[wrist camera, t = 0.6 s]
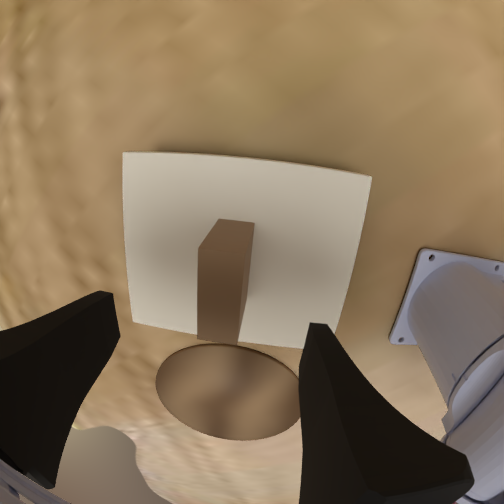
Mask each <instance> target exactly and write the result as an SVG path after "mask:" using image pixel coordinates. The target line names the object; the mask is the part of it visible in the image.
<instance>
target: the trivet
mask: <svg viewBox="0 0 504 504" xmlns="http://www.w3.org/2000/svg"><path fill="white" fill-rule="evenodd" d="M298 384H299V379H298V378H297V376H296V375H295V374H294V373H293V372H292V371H291V370H290V369H289V368H287V367H286V366H285V365H284V364H282V363H281V362H279V361H278V360H276V359H274V358H272V357H270V356H268V355H266V354H263V353H261V352H258V351H255V350H252V349H248V348H245V347H240V346H234V345H226V344H204V345H197V346H192V347H188V348H185V349H182V350H180V351H178V352H176V353H174V354H172V355H171V356H169V357H168V358H167V359H166V360H165V361H164V362H163V363H162V365H161V367H160V368H159V370H158V373H157V376H156V390H157V393H158V396H159V398H160V400H161V402H162V403H163V405H164V406H165V407H166V409H167V410H168V411H169V412H170V413H171V414H172V415H173V416H174V417H175V418H177V419H178V420H179V421H181V422H182V423H184V424H185V425H187V426H189V427H191V428H192V429H194V430H197V431H199V432H201V433H204V434H207V435H210V436H213V437H217V438H222V439H228V440H241V441H245V440H258V439H264V438H268V437H271V436H275V435H277V434H280V433H282V432H284V431H285V430H287V429H289V428H290V427H291V426H293V425H294V424H295V423H296V422H297V421H298V419H299V418H300V405H299V392H298Z"/></svg>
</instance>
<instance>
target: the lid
mask: <svg viewBox="0 0 504 504" xmlns="http://www.w3.org/2000/svg"><path fill="white" fill-rule="evenodd" d="M371 181H372V177H371V176H369V175H367V174H362V173H356V172H351V171H345V170H339V169H333V168H327V167H321V166H314V165H307V164H300V163H293V162H285V161H277V160H269V159H260V158H250V157H240V156H228V155H216V154H201V153H183V152H157V151H128V152H123V220H124V239H125V254H126V266H127V276H128V286H129V295H130V303H131V311H132V318H133V322H136V323H141V324H145V325H150V326H155V327H160V328H165V329H170V330H175V331H180V332H186V333H191V334H197V339H200V340H206V341H212V342H218V343H225V344H231V345H237V342H238V341H241V342H249V343H256V344H264V345H273V346H281V347H291V348H301V349H303V348H304V344H305V340H306V336H307V332H308V328H309V323H310V322H312V323H322V324H328V326H329V327H330V329H331V330H332V332H333V333H334V334H335V331H336V328H337V325H338V321H339V318H340V315H341V311H342V308H343V304H344V301H345V297H346V293H347V290H348V286H349V282H350V278H351V274H352V270H353V266H354V262H355V258H356V254H357V250H358V245H359V241H360V237H361V232H362V227H363V223H364V218H365V213H366V208H367V203H368V198H369V192H370V187H371Z"/></svg>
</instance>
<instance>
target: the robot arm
mask: <svg viewBox="0 0 504 504" xmlns="http://www.w3.org/2000/svg"><path fill="white" fill-rule="evenodd" d="M432 254H433V256H432V258H431V259H429V256H430V255H432ZM495 267H496V268H495ZM401 337H402V338H401ZM119 338H120V331H119V326H118V321H117V316H116V310H115V304H114V298H113V293H109V292H104V291H97V292H94V293H92V294H89V295H87V296H85V297H82V298H80V299H78V300H76V301H74V302H72V303H70V304H68V305H66V306H63V307H61V308H59V309H57V310H55V311H53V312H51V313H48V314H46V315H44V316H42V317H39V318H37V319H35V320H32V321H30V322H27V323H25V324H22V325H19V326H16V327H13V328H10V329H7V330H3V331H0V504H25V503H24V502H23V501H21V500H20V498H19V494H18V493H20V494H21V495H23V496H24V497H26V498H27V499H28V500H30V501H32V502H33V503H35V504H71V503H69V502H67V501H65V500H63V499H62V498H60V497H58V496H56V495H54V494H52V493H51V492H49V491H47V490H46V489H52V488H54V487H55V483H56V478H57V473H58V468H59V464H60V460H61V456H62V452H63V449H64V446H65V443H66V440H67V437H68V435H69V432H70V429H71V427H72V424H73V422H74V419H75V417H76V415H77V412H78V410H79V408H80V406H81V404H82V402H83V400H84V398H85V397H86V395H87V393H88V392H89V390H90V389H91V387H92V386H93V384H94V382H95V381H96V379H97V378H98V376H99V375H100V373H101V372H102V370H103V368H104V367H105V365H106V364H107V362H108V361H109V359H110V357H111V355H112V353H113V351H114V349H115V347H116V345H117V343H118V340H119ZM399 338H401V339H399ZM389 341H390V343H391V344H403V345H418V346H419V348H420V350H421V352H422V354H423V356H424V358H425V360H426V362H427V364H428V366H429V368H430V370H431V372H432V374H433V376H434V379H435V381H436V383H437V385H438V387H439V389H440V392H441V394H442V396H443V398H444V401H445V403H446V405H447V408H448V411H447V413H446V414H445V416H444V417H443V418H442V423H443V425H444V428H445V431H446V434H445V435H444V436H443V438H442V439H441V441H439V440H437V439H435V438H434V437H432V436H431V435H429V434H428V433H426V432H425V431H423V430H422V429H420V428H419V427H418V426H416V425H415V424H413V423H412V422H411V421H410V420H408V419H407V418H406V417H405V416H404V415H402V414H401V413H400V412H399V411H397V410H396V409H395V408H394V407H393V406H392V405H391V404H390V403H389V402H388V401H387V400H386V399H385V398H384V397H383V396H382V395H381V394H380V393H379V392H378V391H377V390H376V389H375V388H374V387H373V386H372V385H371V384H370V382H369V381H368V380H367V379H366V378H365V377H364V375H363V374H362V373H361V372H360V370H359V369H358V368H357V366H356V365H355V364H354V362H353V361H352V360H351V358H350V357H349V356H348V354H347V353H346V351H345V350H344V348H343V347H342V345H341V344H340V342H339V341H338V339H337V338H336V336H335V335H334V333H333V332H332V330H331V329H330V327H329V326H328V324H322V323H312V322H310V323H309V328H308V332H307V336H306V340H305V344H304V348H303V352H302V356H301V360H300V364H299V384H298V392H299V405H300V417H301V429H302V444H303V456H302V474H301V487H300V498H299V504H453V503H454V502H457V503H458V504H504V262H501V261H495V260H490V259H485V258H479V257H474V256H468V255H462V254H457V253H451V252H445V251H439V250H433V249H427V248H424V249H422V250H421V251H420V252H419V254H418V257H417V260H416V264H415V267H414V270H413V273H412V276H411V279H410V282H409V285H408V288H407V291H406V294H405V297H404V300H403V303H402V305H401V308H400V311H399V313H398V316H397V319H396V321H395V324H394V326H393V329H392V331H391V334H390V336H389ZM17 471H18V472H17ZM19 472H20V473H21V474H23V475H25V476H26V477H28V478H29V479H31V480H32V481H34V482H36V483H37V484H39V485H40V486H39V485H37V484H36V483H34V482H32V481H31V480H29V479H28V478H26V477H25V476H23V475H21V474H20V473H19ZM41 486H42V487H44V488H45V489H44V488H42V487H41Z"/></svg>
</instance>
